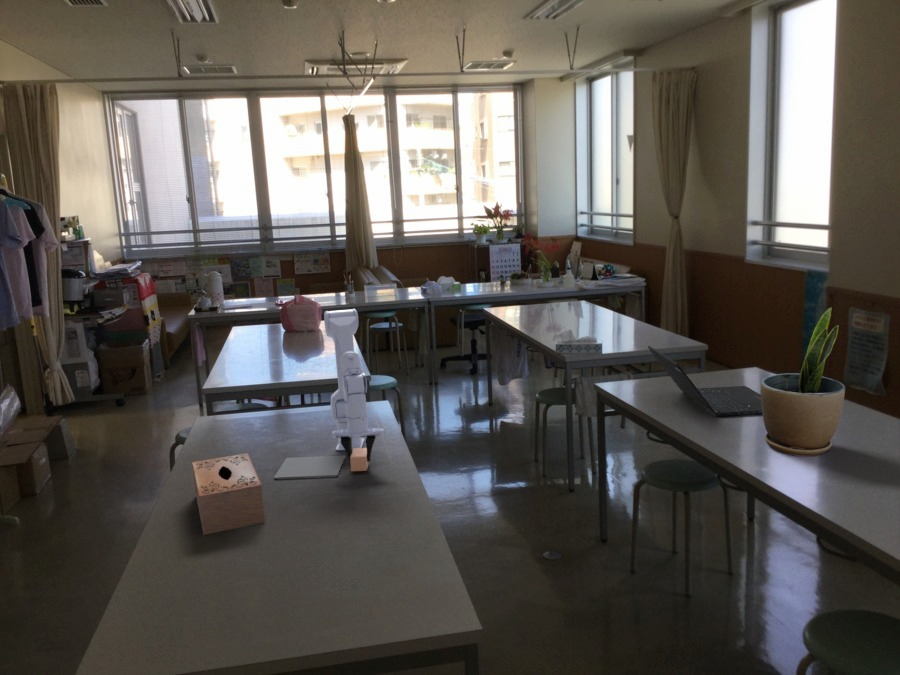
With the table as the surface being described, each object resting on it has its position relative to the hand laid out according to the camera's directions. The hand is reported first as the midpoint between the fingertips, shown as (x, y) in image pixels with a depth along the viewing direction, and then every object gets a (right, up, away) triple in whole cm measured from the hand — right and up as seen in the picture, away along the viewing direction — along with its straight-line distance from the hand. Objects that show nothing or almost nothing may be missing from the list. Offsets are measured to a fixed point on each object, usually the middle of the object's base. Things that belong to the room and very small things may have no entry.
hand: (360, 461), depth 211 cm
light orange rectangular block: (0, -1, 0) cm, 1 cm away
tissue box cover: (-31, -9, -23) cm, 39 cm away
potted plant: (+127, +4, +1) cm, 127 cm away
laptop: (+119, +12, +48) cm, 129 cm away
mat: (-15, -3, +4) cm, 15 cm away
